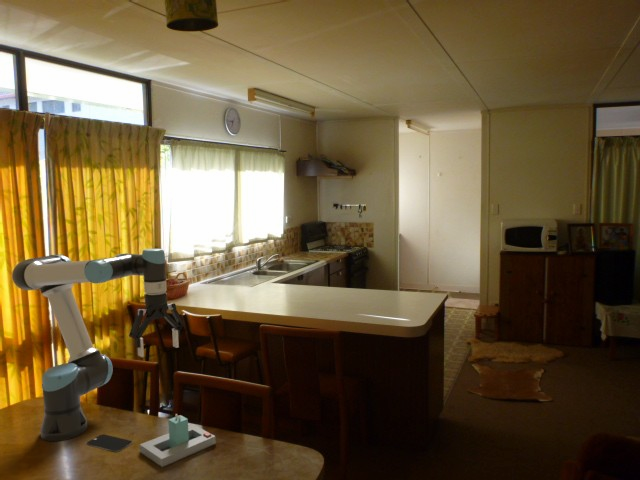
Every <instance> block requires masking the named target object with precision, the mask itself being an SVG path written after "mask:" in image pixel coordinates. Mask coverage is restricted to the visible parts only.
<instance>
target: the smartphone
mask: <svg viewBox="0 0 640 480" xmlns="http://www.w3.org/2000/svg"><path fill="white" fill-rule="evenodd" d="M85 445H87V446H90V447H93V448H98V449H102V450H105V451H109V452H111V453H118V452H121V451H123V450H124V449H126V448H128V447H129V446H131V445H133V440H129V439H125V438H120V437H116V436H112V435H107V434H100V435H98V436H96V437H95V438H92V439H91V440H88V441H87V442H86V443H85Z"/></svg>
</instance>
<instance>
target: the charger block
mask: <svg viewBox="0 0 640 480" xmlns="http://www.w3.org/2000/svg"><path fill="white" fill-rule="evenodd" d="M188 420H189V419H188V418H187V417H185V416H183V415H181V414H180V415H178V413H175V416H174V417H171V418H169V419H168V433H169V440H170V448H173V447H175V446H177V445H180V444H182V443H185V442H187V441H189V435H188V425H189V421H188Z"/></svg>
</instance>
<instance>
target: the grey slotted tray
mask: <svg viewBox="0 0 640 480" xmlns="http://www.w3.org/2000/svg"><path fill="white" fill-rule="evenodd" d="M188 435H189V441H187V442H185V443H182V444H180V445H177V446H175V447H173V448H170V440H169V432H168V433H165V434H163V435H160V436H157V437H155V438H153V439H150V440H147V441H146V442H143V443H140V444H139V450H140V451H139V453H141V455H143V456H144V457H146V458H147V459H149V460H150V461H152V462H153V463H155V464H156V465H158V466H159V467H161V468H165V467H167V466H169V465H172V464H173V463H176V462H179V461H181V460H183V459H185V458H187V457H190V456H192V455H194V454H196V453H198V452H201V451H203V450H206V449H208V448H210V447H213V446H215V445H216V444H217V441H216V440H217V439H216V435H214V434H212V433H210V432H209V431H206V430H205V429H203V428H201V427H200V426H198V425H196V424H194V423H191V424H188Z"/></svg>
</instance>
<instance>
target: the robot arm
mask: <svg viewBox="0 0 640 480" xmlns="http://www.w3.org/2000/svg"><path fill="white" fill-rule="evenodd" d="M166 267H167V265H166V257H165V251H164V249H162V248H146V249H143V250H142V254H139V253H138V254H137V253H119V254H116V256H113V257H108V258H101V259H100V258H99V259H91V260H90V259H88V260H80V261H79V260H76V261H72V260H71V259H70V258H69V257H67V256H65V255H64V254H63V255H62V254H50V255H46V256H40V257H35V258H29V259H28V258H27V259H24V260H21V261H20V262H18V263H17V264H16V265H15V266H14V268H13V270H12V273H11V278H12V282H13V283H14V286H16V287H18V288H19V289H20V290H23V291H37V290H39V291H40V293H41V295H42V296H43V297H45V298H48V299H47V300H48V302H49V304H50V307H51V309H52V312H53V315H54V317H55V320H56V323H57V326H58V328H59V331H60V334H61V336H62V338H63V340H64V344H65V346H66V349H67V351H68V354H69V357H68V360H67V362H66V363H61V364H57V365H54V366H52V367H50V368H48V369H47V370H45V371H44V373H43V375H42V379H41V380H42V383H41V388H42V395H43V396H42V397H43V407H44V409H43V410H44V415H43V420H42V422H41V427H40V437H41V440H43V441H46V442H47V441H48V442H60V441H61V442H62V441H65V440H69V439H73V438H75V437H77V436H79V435H81V434H83V433H84V432H86V430H87V429H88V421H87V418H86V416H85V413H84V411H83V409H82V406H81V397H82V396H84V395H86V394H88V393H90V392H92V391H94V390H96V389H100V388H101V387H102V386H104V385H106V384H107V383H108V382H109V381H110V380H111V378H112V375H113V371H114V370H113V368H114V367H113V363H112V361H111V359H110V358H109V357H108V356H107V355H106V354H102V353H101V351H100V349H98V348H97V347H95V346H94V345H93V342H92V341H91V340H92V339H91V338H90V334H89V332H88V329H87V327H86V324H85V321H84V318H83V317H82V314H81V311H80V308H79V306H78V303H77V300H76V298H75V295H74V293H73V289H72V288H73V287H74V285H75V284H83V283H84V284H85V283H92V284H103V283H106V282H109V281H113V280H117V279H121V278H125V277H126V278H127V277H130V276H140V277H141V276H142V277H143V290H144V291H143V292H144V293H145V294H144V303H145V308H143V309H142V308H141V309H140V308H137V309H136V317H135V319H134V321H133V323H132V327H131V329H130V331H129V333H128V334H129V335H128V336H129V337H130V338H132V339H134V345H135V348H137V356H138V357H140V358H144V357H145V352H144V350H145V349H144V338H143V337H142V336H143V335H144V333H145V332H146V330H147V328H148V326H149V325H150V323H151V322H153V320H154V321H155V320H156V321H157V320H159V319H160V320H161V319H163V318H164V320H166V321H167V322H168V323H169V324H170V325H171V326H172V327H173V328H171V331H172V332H171V333H172V348H173V347H174V348H176V349H177V348H180V346H179V345H180V344H179V338H181V330H182V328H183V327H185V325H186V324H185V322H184V320H183V319H182V317H181V315H180V314H179V312H178V310H177V307H176V303H174V302H169V303H168V293H167V292H166V291H168V289H167V287H168V286H167V276H166V275H167V273H166V272H167V271H166ZM168 309H169V310H170V312H171V314H172V316H173V318H174V319H173V318H172V317H171V316H170V314H169V313H168ZM145 314H146V315H145ZM144 316H145V317H144ZM143 318H144V319H143Z"/></svg>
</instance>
